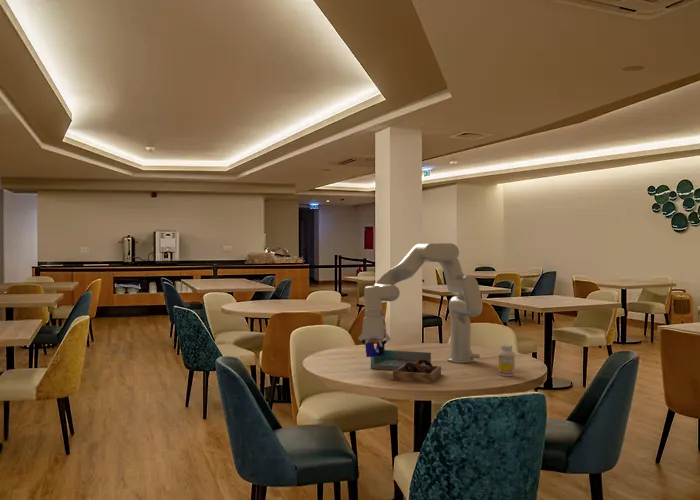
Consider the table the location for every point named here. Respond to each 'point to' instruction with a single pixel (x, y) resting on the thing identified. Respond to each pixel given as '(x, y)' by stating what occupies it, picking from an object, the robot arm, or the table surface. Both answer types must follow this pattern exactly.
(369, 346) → the blue arch block
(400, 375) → the wooden tray
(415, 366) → the brown looped piece
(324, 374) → the table surface
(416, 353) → the grey teal tray
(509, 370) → the supplement bottle
